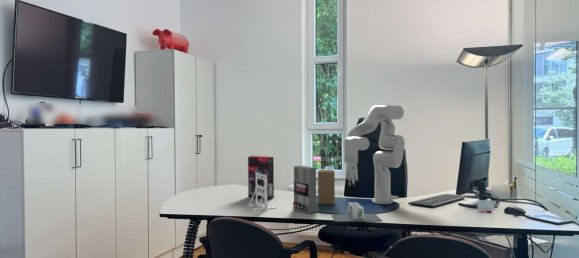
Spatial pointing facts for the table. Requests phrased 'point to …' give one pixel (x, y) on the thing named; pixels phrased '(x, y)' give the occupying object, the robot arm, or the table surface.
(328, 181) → the block
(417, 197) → the table surface
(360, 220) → the mat
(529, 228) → the table surface
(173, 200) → the table surface
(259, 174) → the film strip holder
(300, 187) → the grey labelled carton
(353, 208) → the syrup box
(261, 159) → the graphics card box
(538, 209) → the table surface
